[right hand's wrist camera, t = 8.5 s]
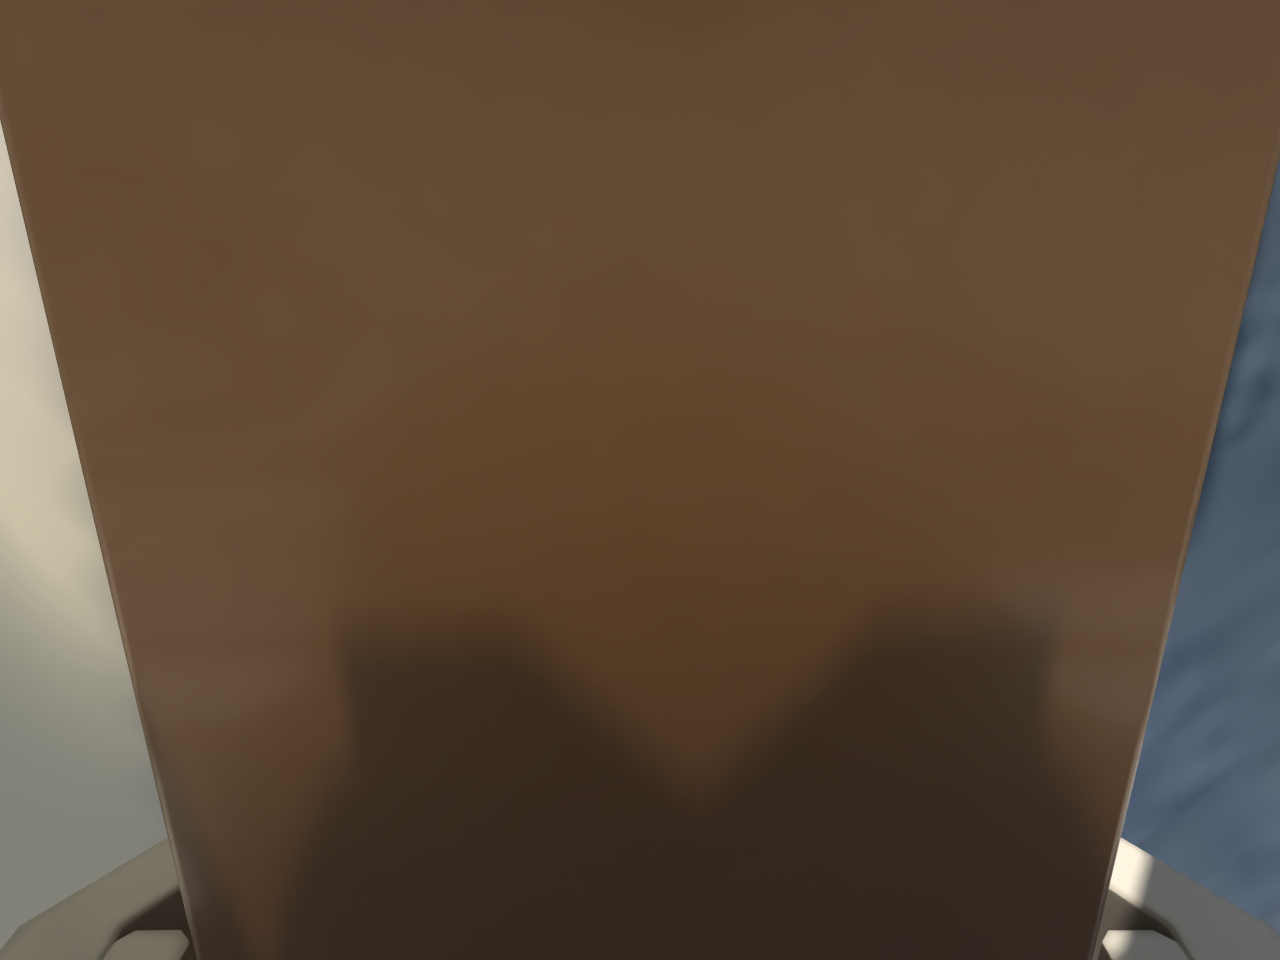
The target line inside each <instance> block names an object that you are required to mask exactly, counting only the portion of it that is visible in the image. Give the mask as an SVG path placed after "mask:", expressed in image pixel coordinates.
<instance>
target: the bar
mask: <svg viewBox="0 0 1280 960" xmlns="http://www.w3.org/2000/svg"><path fill="white" fill-rule="evenodd" d="M0 120H1V125H2V129H3V133H4V137H5V142H6V146H7V150H8V154H9V159H10V163H11V167H12V172H13V176H14V180H15V184H16V189H17V193H18V197H19V202H20V206H21V210H22V214H23V219H24V223H25V227H26V231H27V236H28V240H29V244H30V249H31V253H32V257H33V261H34V266H35V270H36V274H37V278H38V283H39V287H40V291H41V296H42V300H43V304H44V308H45V313H46V317H47V321H48V326H49V330H50V334H51V338H52V343H53V347H54V351H55V355H56V360H57V364H58V368H59V373H60V377H61V381H62V385H63V390H64V394H65V398H66V402H67V407H68V411H69V415H70V420H71V424H72V428H73V432H74V437H75V441H76V445H77V450H78V454H79V458H80V462H81V467H82V471H83V475H84V479H85V484H86V488H87V492H88V497H89V501H90V505H91V509H92V514H93V518H94V522H95V526H96V531H97V535H98V539H99V544H100V548H101V552H102V556H103V561H104V565H105V569H106V574H107V578H108V582H109V586H110V591H111V595H112V599H113V603H114V608H115V612H116V616H117V621H118V625H119V629H120V633H121V638H122V642H123V646H124V650H125V655H126V659H127V663H128V668H129V672H130V676H131V680H132V685H133V689H134V693H135V698H136V702H137V706H138V710H139V715H140V719H141V723H142V727H143V732H144V736H145V740H146V745H147V749H148V753H149V757H150V762H151V766H152V770H153V774H154V779H155V783H156V787H157V792H158V796H159V800H160V804H161V809H162V813H163V817H164V822H165V826H166V830H167V834H168V839H169V843H170V847H171V851H172V856H173V860H174V864H175V869H176V873H177V877H178V881H179V886H180V890H181V894H182V898H183V903H184V907H185V911H186V916H187V920H188V924H189V928H190V933H191V937H192V941H193V946H194V950H195V954H196V958H197V960H1092V958H1093V954H1094V950H1095V945H1096V941H1097V937H1098V932H1099V928H1100V924H1101V920H1102V915H1103V911H1104V907H1105V902H1106V898H1107V894H1108V890H1109V885H1110V881H1111V877H1112V872H1113V868H1114V864H1115V860H1116V855H1117V851H1118V847H1119V842H1120V838H1121V834H1122V830H1123V825H1124V821H1125V817H1126V813H1127V808H1128V804H1129V800H1130V795H1131V791H1132V787H1133V783H1134V778H1135V774H1136V770H1137V765H1138V761H1139V757H1140V753H1141V748H1142V744H1143V740H1144V735H1145V731H1146V727H1147V723H1148V718H1149V714H1150V710H1151V705H1152V701H1153V697H1154V693H1155V688H1156V684H1157V680H1158V675H1159V671H1160V667H1161V663H1162V658H1163V654H1164V650H1165V645H1166V641H1167V637H1168V633H1169V628H1170V624H1171V620H1172V615H1173V611H1174V607H1175V603H1176V598H1177V594H1178V590H1179V585H1180V581H1181V577H1182V573H1183V568H1184V564H1185V560H1186V555H1187V551H1188V547H1189V543H1190V538H1191V534H1192V530H1193V525H1194V521H1195V517H1196V513H1197V508H1198V504H1199V500H1200V495H1201V491H1202V487H1203V483H1204V478H1205V474H1206V470H1207V465H1208V461H1209V457H1210V453H1211V448H1212V444H1213V440H1214V435H1215V431H1216V427H1217V423H1218V418H1219V414H1220V410H1221V405H1222V401H1223V397H1224V393H1225V388H1226V384H1227V380H1228V375H1229V371H1230V367H1231V363H1232V358H1233V354H1234V350H1235V345H1236V341H1237V337H1238V333H1239V328H1240V324H1241V320H1242V315H1243V311H1244V307H1245V303H1246V298H1247V294H1248V290H1249V285H1250V281H1251V277H1252V273H1253V268H1254V264H1255V260H1256V255H1257V251H1258V247H1259V243H1260V238H1261V234H1262V230H1263V225H1264V221H1265V217H1266V213H1267V208H1268V204H1269V200H1270V195H1271V191H1272V187H1273V183H1274V178H1275V174H1276V170H1277V165H1278V161H1279V157H1280V0H0Z"/></svg>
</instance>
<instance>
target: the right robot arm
mask: <svg viewBox="0 0 1280 960" xmlns="http://www.w3.org/2000/svg"><path fill="white" fill-rule="evenodd" d="M0 960H197V958H196V954H195V950H194V946H193V941H192V937H191V933H190V928H189V924H188V920H187V916H186V911H185V907H184V903H183V898H182V894H181V890H180V886H179V881H178V877H177V873H176V869H175V864H174V860H173V856H172V851H171V847H170V843H169V839H168V838H167V839H165V840H163V841H162V842H160V843H158V844H157V845H155V846H153V847H152V848H150V849H148V850H147V851H145V852H143V853H142V854H140V855H138V856H137V857H135V858H133V859H132V860H130V861H128V862H127V863H125V864H123V865H121V866H120V867H118V868H117V869H115V870H113V871H111V872H110V873H108V874H106V875H105V876H103V877H101V878H100V879H98V880H96V881H95V882H93V883H91V884H90V885H88V886H86V887H85V888H83V889H81V890H80V891H78V892H76V893H74V894H73V895H71V896H70V897H68V898H66V899H64V900H63V901H61V902H59V903H58V904H56V905H54V906H53V907H51V908H49V909H48V910H46V911H44V912H43V913H41V914H39V915H38V916H36V917H34V918H33V919H31V920H29V921H28V922H26V923H24V924H22V925H21V926H19V928H18V929H17V930H16V931H15V933H14V934H13V935H12V936H11V938H10V939H9V940H8V941H7V943H6V944H5V945H4V946H3V947H2V949H1V950H0ZM1092 960H1280V936H1279V934H1278V933H1277V932H1276V931H1275V929H1274V928H1273V927H1271V926H1269V925H1268V924H1266V923H1264V922H1263V921H1261V920H1259V919H1258V918H1256V917H1254V916H1252V915H1251V914H1249V913H1247V912H1246V911H1244V910H1242V909H1241V908H1239V907H1237V906H1236V905H1234V904H1232V903H1231V902H1229V901H1227V900H1225V899H1224V898H1222V897H1220V896H1219V895H1217V894H1215V893H1214V892H1212V891H1210V890H1209V889H1207V888H1205V887H1204V886H1202V885H1200V884H1198V883H1197V882H1195V881H1193V880H1192V879H1190V878H1188V877H1187V876H1185V875H1183V874H1182V873H1180V872H1178V871H1177V870H1175V869H1173V868H1171V867H1170V866H1168V865H1166V864H1165V863H1163V862H1161V861H1160V860H1158V859H1156V858H1155V857H1153V856H1151V855H1150V854H1148V853H1146V852H1144V851H1143V850H1141V849H1139V848H1138V847H1136V846H1134V845H1133V844H1131V843H1129V842H1128V841H1126V840H1124V839H1123V838H1120V842H1119V847H1118V851H1117V855H1116V860H1115V864H1114V868H1113V872H1112V877H1111V881H1110V885H1109V890H1108V894H1107V898H1106V902H1105V907H1104V911H1103V915H1102V920H1101V924H1100V928H1099V932H1098V937H1097V941H1096V945H1095V950H1094V954H1093V958H1092Z"/></svg>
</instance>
